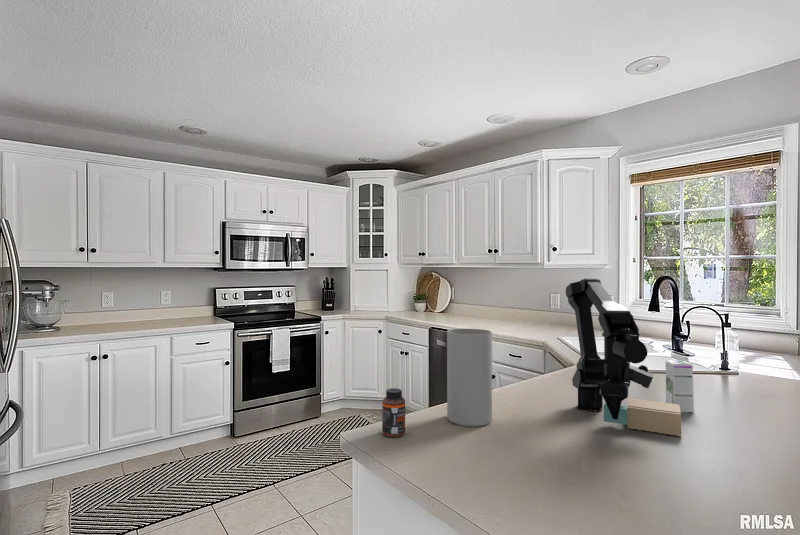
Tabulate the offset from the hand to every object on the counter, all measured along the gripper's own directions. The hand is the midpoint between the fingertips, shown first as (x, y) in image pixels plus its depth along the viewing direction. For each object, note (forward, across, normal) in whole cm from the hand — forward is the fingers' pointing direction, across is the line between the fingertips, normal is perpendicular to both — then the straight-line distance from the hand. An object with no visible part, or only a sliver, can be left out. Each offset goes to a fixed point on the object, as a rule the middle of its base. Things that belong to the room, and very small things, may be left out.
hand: (616, 414), depth 115 cm
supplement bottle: (+4, -33, +49) cm, 60 cm away
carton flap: (+3, 0, -6) cm, 7 cm away
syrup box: (+4, +28, -16) cm, 32 cm away
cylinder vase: (+4, -13, +36) cm, 39 cm away
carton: (+4, +6, -8) cm, 11 cm away
